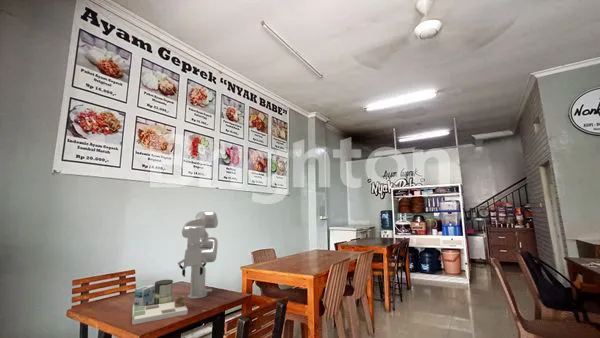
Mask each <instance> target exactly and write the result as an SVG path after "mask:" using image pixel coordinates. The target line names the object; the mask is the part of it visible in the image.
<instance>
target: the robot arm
mask: <svg viewBox="0 0 600 338" xmlns="http://www.w3.org/2000/svg"><path fill="white" fill-rule="evenodd" d="M218 225H219V219H218V216H217V213H216V212H215V211H212V210H209V211H207V210H205V211H199V212H197V214H196V215H195V218H194V219H191V220H189V221H187V222H186V223H185V224H184V225H183V227H182V230H181V236H182V237H183V238H185V239H187V244H186V249H185V252H184V258H183V259H182V260H181V261H179V262H177V264H178V266H179V268H180V269H181V270H182V272H181V274H182V276H183V277H186V268H187V267H190V289H189V291H190V293H189V294H187V298H188V299H191V300H192V299H193V300H194V299H195V300H198V299H202V298H205V297H207V296H208V293H212V292H213V288H206V273H207V272H206V265H207V263H214V262H215V261H216V260H217V255H218V247H219V245H218V239H217V237H213V236H212V237H209V233H208V232H207V231H206V230H207V229H216V228H217V227H218ZM182 264H184V265H182Z"/></svg>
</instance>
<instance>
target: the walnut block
mask: <svg viewBox="0 0 600 338" xmlns="http://www.w3.org/2000/svg"><path fill="white" fill-rule="evenodd" d="M174 302H175V304H174V306H175V308H177V307H183V306H186V296H185V295H184V294H183V295H182V294H181V295H176V296H174Z"/></svg>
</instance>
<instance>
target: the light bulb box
mask: <svg viewBox="0 0 600 338" xmlns="http://www.w3.org/2000/svg"><path fill="white" fill-rule="evenodd" d="M154 296H155V284H153V285H152V284H145V285H143V286H140V287H137V288H135V289H134V298H133V299H134V300H133V305H134V307H139V306H151V305H152V304H154Z"/></svg>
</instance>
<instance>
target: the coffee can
mask: <svg viewBox="0 0 600 338" xmlns="http://www.w3.org/2000/svg"><path fill="white" fill-rule="evenodd" d="M173 283H174V280H172V279H162V280H161V279H160V280H157V281H155V282H154V285H155V296H154V303H153V305H158V304H164V303H170V302H173V286H174V285H173Z"/></svg>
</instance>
